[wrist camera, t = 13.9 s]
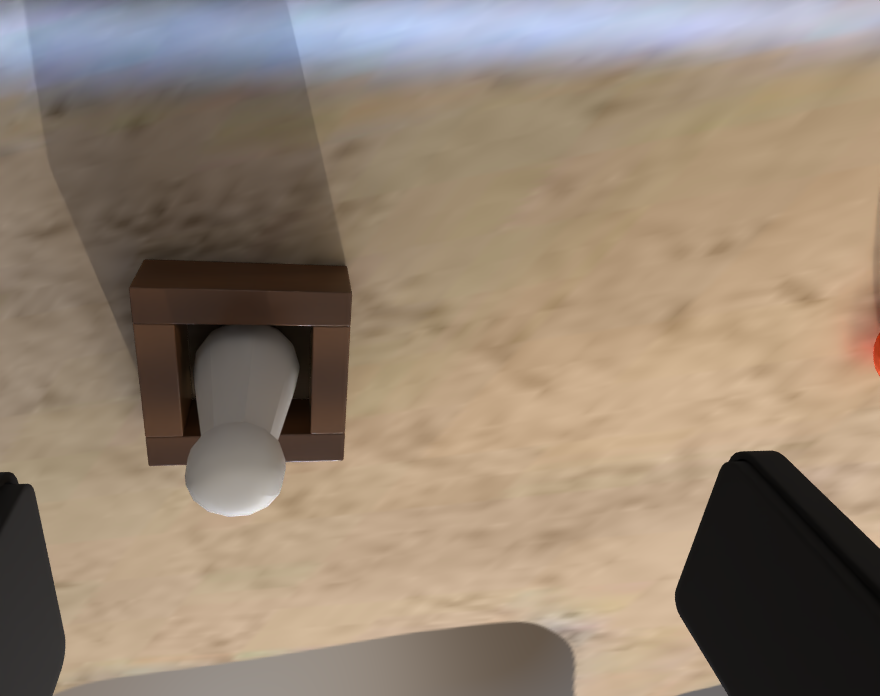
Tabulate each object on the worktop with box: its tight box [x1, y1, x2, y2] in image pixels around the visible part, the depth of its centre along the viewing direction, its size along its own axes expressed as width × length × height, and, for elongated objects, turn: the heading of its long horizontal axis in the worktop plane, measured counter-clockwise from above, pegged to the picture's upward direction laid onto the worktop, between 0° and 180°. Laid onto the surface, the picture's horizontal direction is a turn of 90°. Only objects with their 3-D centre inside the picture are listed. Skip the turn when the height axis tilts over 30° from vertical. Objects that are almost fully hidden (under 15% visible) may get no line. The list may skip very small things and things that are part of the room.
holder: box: [129, 259, 352, 466], centre depth 39 cm, size 11×11×4 cm
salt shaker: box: [185, 325, 300, 517], centre depth 35 cm, size 6×6×13 cm
